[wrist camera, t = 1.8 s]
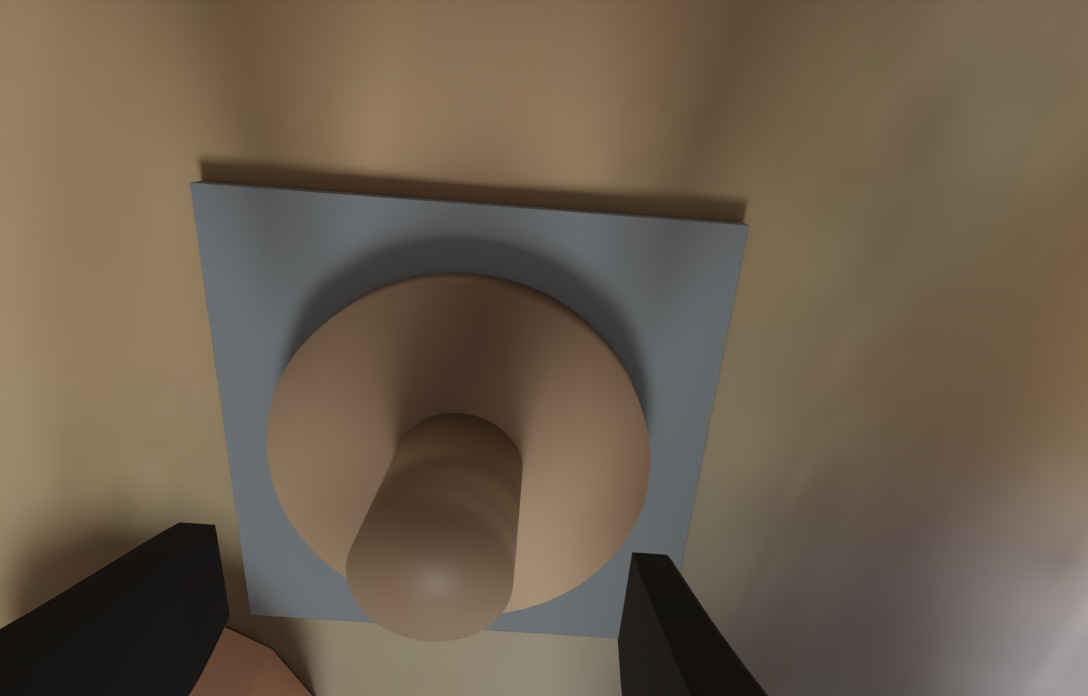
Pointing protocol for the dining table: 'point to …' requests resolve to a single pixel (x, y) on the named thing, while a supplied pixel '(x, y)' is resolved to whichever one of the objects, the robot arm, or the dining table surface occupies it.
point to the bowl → (246, 670)
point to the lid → (458, 451)
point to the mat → (461, 247)
